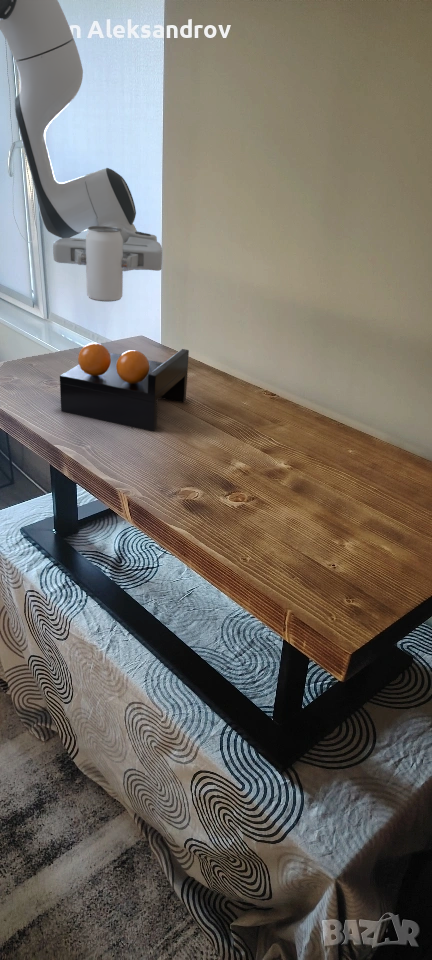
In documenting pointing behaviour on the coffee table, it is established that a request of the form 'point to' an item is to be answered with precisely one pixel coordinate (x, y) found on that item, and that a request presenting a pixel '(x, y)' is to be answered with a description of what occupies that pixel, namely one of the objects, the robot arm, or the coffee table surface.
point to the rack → (122, 385)
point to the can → (104, 263)
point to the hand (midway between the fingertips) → (104, 262)
